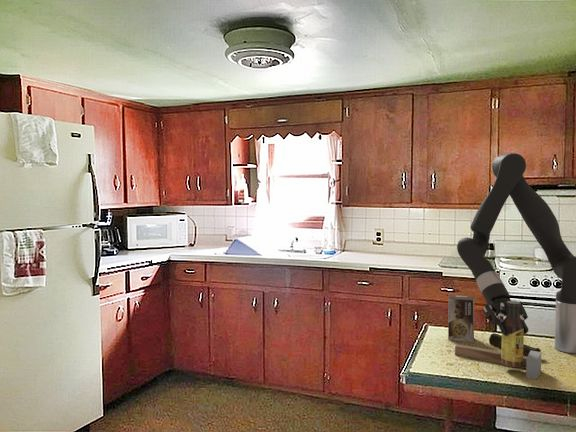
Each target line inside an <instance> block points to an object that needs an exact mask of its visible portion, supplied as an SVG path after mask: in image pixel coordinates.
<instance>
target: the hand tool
mask: <svg viewBox="0 0 576 432" xmlns="http://www.w3.org/2000/svg"><path fill="white" fill-rule="evenodd" d="M488 341H489V345H491V346H493V347H496V348H498V349H500V350H501V346H502V334H499V333H494V332H493V333H491V334H490V335H489V338H488ZM530 351H537V352H541V353H542V350H541V349H540V348H539V347H533V346H530V345H527V344H525V343H523V356H528V355H529V353H530Z"/></svg>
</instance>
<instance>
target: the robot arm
mask: <svg viewBox="0 0 576 432" xmlns="http://www.w3.org/2000/svg"><path fill="white" fill-rule="evenodd" d="M491 169H492V170H491V171H492V173H493V175H494V176H495V178H496V179H495V181H494V184H493V185H492V187H491V189H490V191H489V193H488V194H487V196H486V197H485V198H484V199H483V201H482V202H481V204H480V205H479V207H478V209H477V211H476V213H475V215H474V217H473V220H472V221H471V224H470V230H471V231H472V232H473V234H472V238H471V237H466V236H465V237H463V238H462V237H461V238H460V239H459V240H458V242H457V244H456V249H457V250H456V251H457V254H458V255H459V257H460V259H461V260H462V262H463V263H464V264H465V265H466V267H468V269H469V270H470V272H471V273H472V276H473V278H474V279H475V281H476V284H477V286H478V289H479V291H480V293H481V294H482V297H483V298H484V300H485V302H486V304H485V305H484V306H483V307H482V308H481V310H482V312H483V313H484V315H485V316H486V318H487V320H488V321H489V323H490V324H491V325H496V326H498V328H499V330H500V332H501V334H502V333H503V334H504V335H505V336H508V335H509V334H510V331H509V329H508V327H507V325H506V323H505V322H504V319H505V317H506V316H507V306H506V303H507V301H512V300H511V295H510V292H509V291H508V290H507V287H506V285H505V284H504V282H503V280H502V279H501V277H500V276H499V275H498V273H497V271H496V269H495V268H494V266H493V264H492V263H491V262H490V260H488V259H487V258H486V257H484V256H485V255H486V254H487V252H488V247H489V244H490V243H489V242H490V238H491V232H492V231H493V228H494V226H495V225H496V222H497V220H498V217H499V216H500V213H501V211H502V209H503V207H504V206H505V203H506V202H507V201H508V200H507V199H509V196H510V198H511V200H512V202H513V204H514V206H515V207H516V209H517V210H518V212H519V214H520V215H521V217H522V220H523V221H524V223H525V224H526V226H527V228H528V229H529V231H530V232H531V234H532V236H533V237H534V238H535V240H536V242H537V243H538V244H539V246H540V247H541V248H542V250H543V253H544V254H545V256H546V258H547V259H548V262H549V265H550V267H551V268H552V271H553V273H554V274H555V276H557V277H558V278H559V279H560V280H561V288H560V290H558V291H557V292H556V293H555V294H556V295H555V326H554V328H555V329H554V333H555V334H554V348H555V349H556V350H557V351H559V352H562V353H568V354H576V256H575V255H574V254H573V253H572V252H571V250H569V248H568V246H567V245H566V243H565V242H564V240H563V239H562V234H561V229H560V225H559V222H558V220H557V217H556V216H555V213H554V212H553V211H552V209H551V207H550V206H549V204H548V203H547V202H546V200H544V199H543V198H542V197H541V196H540V195H539V193H537V192H536V191H535V190H534V189H533V188H532V187H531V186H530V185H529V183H528V182H527V179H526V178H525V176H524V174H525V171H526V169H527V162H526V159H525V157H524V156H522V155H521V154H519V153H515V152H511V153H504V154H500V155H498V156H496V157H495V158H494V159H493V161H492V164H491ZM519 302H520V303H521V307H520V318H521V321H522V324H523V327H524V335H526V334H527V333H528V332H529V327H528V326H527V324H526V322H525V320H527V319H528V318H529V316H528V314H527V312H526V310H525V307H524V305H523V302H521V301H519Z"/></svg>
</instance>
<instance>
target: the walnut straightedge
mask: <svg viewBox="0 0 576 432" xmlns="http://www.w3.org/2000/svg"><path fill="white" fill-rule="evenodd" d="M454 355H455V356H461V357H465V358H472V359H477V360H481V361H487V362H491V363H495V364H497V363H498V364H502V365H504V364H503V363H502V358H501V351H498V350H492V349H488V348H487V349H486V348H481V347H475V346H470V345H464V344H459V343H457V344H456V345H455V346H454ZM526 361H527V356H525V355H523V361H522V366H519V367H518V368H524V369H526Z"/></svg>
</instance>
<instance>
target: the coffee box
mask: <svg viewBox="0 0 576 432" xmlns="http://www.w3.org/2000/svg"><path fill="white" fill-rule="evenodd" d="M447 301H448V303H447V306H448V307H447V308H448V309H447V310H448V312H447V313H448V316H447V317H448V318H447V322H448V324H447V327H448V328H447V329H448V331H447V340H448V341H456V342H457V341H458V342H466V343H474V341H475V296H471V295H470V296H469V295H460V294H459V295H457V294H456V295H455V294H450V295H449V296H448V299H447Z"/></svg>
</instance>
